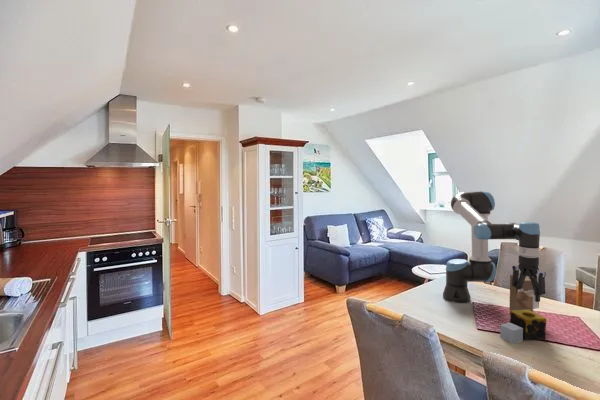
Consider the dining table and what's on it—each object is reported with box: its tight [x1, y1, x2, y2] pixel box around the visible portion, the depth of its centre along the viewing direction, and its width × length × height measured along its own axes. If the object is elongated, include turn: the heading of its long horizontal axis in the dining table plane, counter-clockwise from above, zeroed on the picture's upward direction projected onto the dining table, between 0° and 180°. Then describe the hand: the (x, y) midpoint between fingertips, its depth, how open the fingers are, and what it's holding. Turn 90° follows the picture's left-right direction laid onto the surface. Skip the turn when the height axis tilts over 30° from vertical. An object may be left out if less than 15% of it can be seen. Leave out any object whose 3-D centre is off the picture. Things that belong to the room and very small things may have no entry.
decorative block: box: [509, 273, 534, 312], centre depth 166 cm, size 11×6×20 cm, turn 177°
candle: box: [509, 309, 547, 341], centre depth 145 cm, size 10×10×10 cm
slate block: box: [499, 322, 524, 344], centre depth 142 cm, size 6×6×6 cm
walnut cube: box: [516, 290, 540, 310], centre depth 144 cm, size 6×6×6 cm
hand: (527, 305), depth 144 cm, fingers closed on walnut cube, 6 cm apart
